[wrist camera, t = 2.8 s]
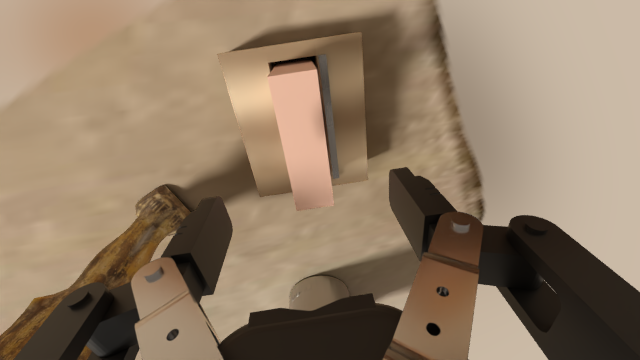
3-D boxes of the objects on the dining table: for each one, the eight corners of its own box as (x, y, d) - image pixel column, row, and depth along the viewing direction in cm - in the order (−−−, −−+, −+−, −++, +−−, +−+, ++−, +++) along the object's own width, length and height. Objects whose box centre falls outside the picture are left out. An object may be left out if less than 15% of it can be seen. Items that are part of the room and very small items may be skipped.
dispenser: (359, 163, 29) (369, 183, 25) (264, 177, 29) (259, 200, 25) (351, 32, 23) (363, 31, 19) (229, 51, 23) (214, 54, 19)
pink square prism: (323, 156, 28) (334, 205, 20) (296, 160, 28) (296, 211, 20) (309, 57, 23) (316, 69, 15) (277, 63, 23) (267, 76, 15)
